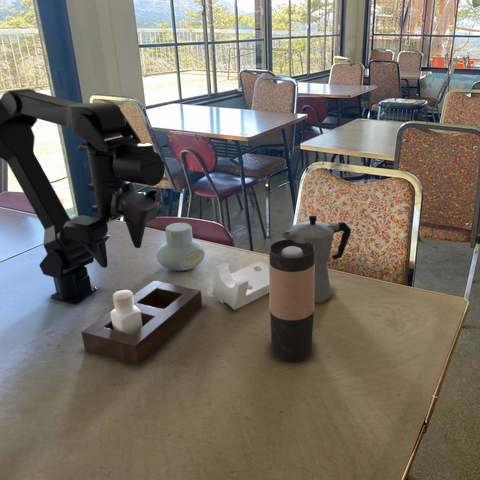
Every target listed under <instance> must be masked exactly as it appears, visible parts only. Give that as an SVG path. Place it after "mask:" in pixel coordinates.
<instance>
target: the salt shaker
mask: <svg viewBox="0 0 480 480" xmlns="http://www.w3.org/2000/svg"><path fill="white" fill-rule="evenodd" d="M133 295H134V294H133V291H132V290H130V289H122V290H118V291H116V292H114V293H113V295H112V300H113V305H114V308H115V309H114V308H113V309H114V310H113V309H111V310H112V311H111V310H110V311H111V319H112V325H113V330H116V331H120V332H124V333H128V334H132V335H133V334H134V333H136V332H137V331H138V330H139V329H140V328H142V327H143V325H142V318H141V312H140V310H139V309H138V308H137V307H136V306H134V304H133V303H134V300H133Z"/></svg>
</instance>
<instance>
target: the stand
mask: <svg viewBox="0 0 480 480" xmlns="http://www.w3.org/2000/svg"><path fill="white" fill-rule="evenodd" d="M202 299H203V298H202V290H201V289H195V288H191V287H187V286H183V285H182V286H181V285H176V284H172V283H167V282H162V281H158V280H153V281H151V282H150V283H148V284H147V285H146V286H144V287H142V288H141V289H140V290H138V291H137V292H136V293H134V294H133V300H134V303H133V304H134V306H136V307H137V308H138V309H139V310H140V312H141V318H142V325H143V327H142V328H140V329H139V330H138V331H137V332H136V333H134V334H133V335H132V334H128V333H124V332H120V331H116V330H113V325H112V319H111V311H112V310H114V309H115V307H114V308H113V309H111V310H110V311H109V312H107V313H105V314H104V315H103V316H101V317H100V318H99V319H97V320H96V321H94V322H92V323H91V324H90V325H88V326H87V327H86V328H84V329H83V330H82V331H81V337H82V342H83V347H84V351H85V352H87V353H88V352H89V353H92V354H96V355H98V356H102V357H106V358H110V359H113V360H117V361H121V362H123V363H127V364H131V365H135V366H140V364H142V363H143V362H144V361H145V360H146V359H147V358H148V357H150V356H151V355H152V354H153V352H155V351H156V350H157V349H158V348H160V346H161V345H163V344H164V343H165V342H166V341H167V340H168V339H169V338H170V337H171V336H172V335H174V334H175V333H176V332H177V331H178V330H179V329H180V328H181V327H182V326H183V325H185V324H186V323H187V322H188V321H189V320H190V319H191V318H192V317H193V316H195V315H196V314H197V313H198V312H199V311H201V309H202V308H203V301H202ZM158 306H162V307H165V308H164V309H163V308H159V307H158Z"/></svg>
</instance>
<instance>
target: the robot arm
mask: <svg viewBox="0 0 480 480" xmlns="http://www.w3.org/2000/svg"><path fill="white" fill-rule="evenodd" d="M38 120H41V121H44V122H49V123H51V124H55V125H59V126H63V127H65V128H67V129H69V130H70V132H71V134H72V135H74V136H76V137H77V138H80V139H81V140H83V141H82V142H81V143H80V144H79V145H78V146H77V151H78V152H83V153H87V157H88V158H87V159H88V164H89V170H90V176H91V182H92V183H88V184H87V190H88V191H91V192H93V193H94V199H95V204H94V205H92V206H91V212H92V213H95V214H97V216H94V217H93V216H89V215H83V214H81V215H78V216H76V217H74V218H72V219H71V217H70V216H69V214H68V212H67V211H66V208H65V206H64V204H63V203H62V201H61V199H60V198H59V196H58V194H57V192H56V190H55V188H54V187H53V185H52V183H51V181H50V180H49V178H48V175H47V174H46V172H45V169H44V167H43V166H42V164H41V163H40V161H39V159H38V158H37V156H36V154H35V152H34V151H35V150H34V149H35V141H36V140H35V139H36V136H35V133H34V131H33V127H34V125H36V123H37V122H38ZM0 158H1V159H2V160H3V161H4V162H5V161H6V163H7V165H8V167H9V169H10V171H11V172H12V174H13V176H14V177H15V180H16V181H17V183H18V184H19V186H20V188H21V190H22V192H23V194H24V195H25V197H26V199H27V200H28V202H29V205H30V206H31V207H32V209H33V211H34V213H35V215H36V216H37V218H38V220H39V222H40V224H41V226H42V228H43V229H44V234H43V244H42V245H43V247H44V250H45V252H46V255H45V256H44V258H43V259H42V260H41V262H40V263H39V268H40V270H41V272H42V274H43V275H44V276H47V277H51V278H53V283H54V288H55V292H54V293H53V294H51V295H50V299H51V300H56V301H60V302H64V303H67V304H72V305H74V304H77V303H79V302H81V301H83V300H84V299H86V298H87V297H88V296H90V295H92V294H94V293H95V292H97V291H98V287H96V286H92V283H91V278H90V275H89V272H88V267H87V266H88V265H89V264H93V263H94V260H95V261H96V262H97V264H98V265H99V266H100V267H101V268H103V269H106V268H107V267H108V253H107V245H106V242H107V241H108V240H109V238H111V236H110V235H109V234H108V231H109V226H108V225H109V224H111V223H113V222H116V221H117V220H120V219H121V218H123V217H124V218H123V219H124V221H125V224H126V227H127V230H128V233H129V236H130V239H131V242H132V244H133V247H134V248H135V249H140V248H141V247H142V243H143V239H144V235H145V229H146V226H147V224H148V223H149V222H151V221H155V220H156V219H157V215H158V211H159V210H161V209H163V207H164V206H163V205H164V204H163V197H162V193H161V191H160V190H158V189H156V188H152V189H150V190H148V191H147V192H145V191H142V192H138V191H137V190H136V187H135V186H136V185H135V184H138V185H144V186H150V187H154V186H155V187H156V186H157V185H159V184H160V183H161V182H162V180H163V179H164V176H165V173H166V172H165V170H166V163H165V161H164V160H163V158H162V156H161V155H160V154H159V153H158V152H156V151H155V146H154V145H153V144H151V143H145V144H142V139H141V138H140V137H139V136H138V133H137V132H136V130H135V129H134V127H132V124H131V123H130V122H129V120H128V119H127V118H126V116H125V115H124V113H123V111H122V110H121V107H120V106H119V105H118V104H116V103H113V102H87V103H86V102H85V103H84V102H76V101H73V100H68V99H65V98H61V97H57V96H53V95H50V94H45V93H41V92H37V91H36V90H34V89H31V88H22V89H13V90H12V89H11V90H8V91H6V92H4V93H3V94H2V95H1V97H0Z"/></svg>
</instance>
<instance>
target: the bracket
mask: <svg viewBox="0 0 480 480" xmlns="http://www.w3.org/2000/svg"><path fill="white" fill-rule="evenodd" d="M267 294H269V267H268V266H267V264H265V263H263V262H262V260H261V261H257V262H254V263H253V264H250V265H248V266H246V267H243V268H241V269H239V270H236V271H234V272H231V270H230V264H229V263H228V262H227V261H225V262H222V263H220V264H218V265H216V266H215V272H214V279H213V285H212V293H211V295H212V296H214V297H215V298H216V299H217V300H218V301H219V302H220V303H222V304H225V303H226V304H227V305H228V306H229V307H230V308H231V309H233V310H234V311H236V310H238V309H240V308H242V307H244V306H245V305H247V304H250V303H251V302H254V301H255V300H257V299H260V298H261V297H263V296H266V295H267Z"/></svg>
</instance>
